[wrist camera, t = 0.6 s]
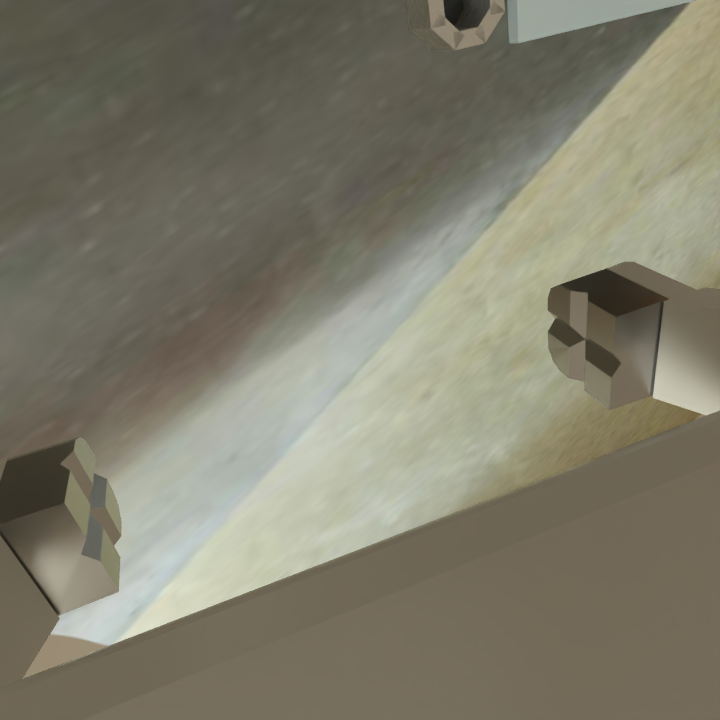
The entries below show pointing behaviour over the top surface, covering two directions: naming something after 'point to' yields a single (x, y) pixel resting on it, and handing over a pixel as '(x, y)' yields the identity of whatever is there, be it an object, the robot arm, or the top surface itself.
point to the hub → (439, 34)
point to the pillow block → (571, 15)
